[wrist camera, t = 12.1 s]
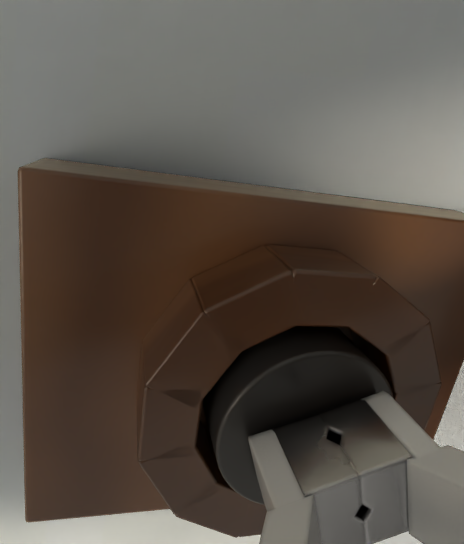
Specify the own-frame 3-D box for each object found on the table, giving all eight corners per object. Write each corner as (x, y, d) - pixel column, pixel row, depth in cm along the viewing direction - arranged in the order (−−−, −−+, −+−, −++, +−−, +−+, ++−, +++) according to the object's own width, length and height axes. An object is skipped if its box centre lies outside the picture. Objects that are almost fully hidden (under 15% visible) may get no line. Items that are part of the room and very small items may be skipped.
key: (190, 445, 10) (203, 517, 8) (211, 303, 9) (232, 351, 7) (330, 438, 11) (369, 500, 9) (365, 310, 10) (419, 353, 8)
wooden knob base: (42, 458, 12) (3, 601, 9) (41, 157, 9) (-18, 178, 6) (379, 439, 15) (456, 537, 12) (455, 210, 13) (586, 245, 9)
